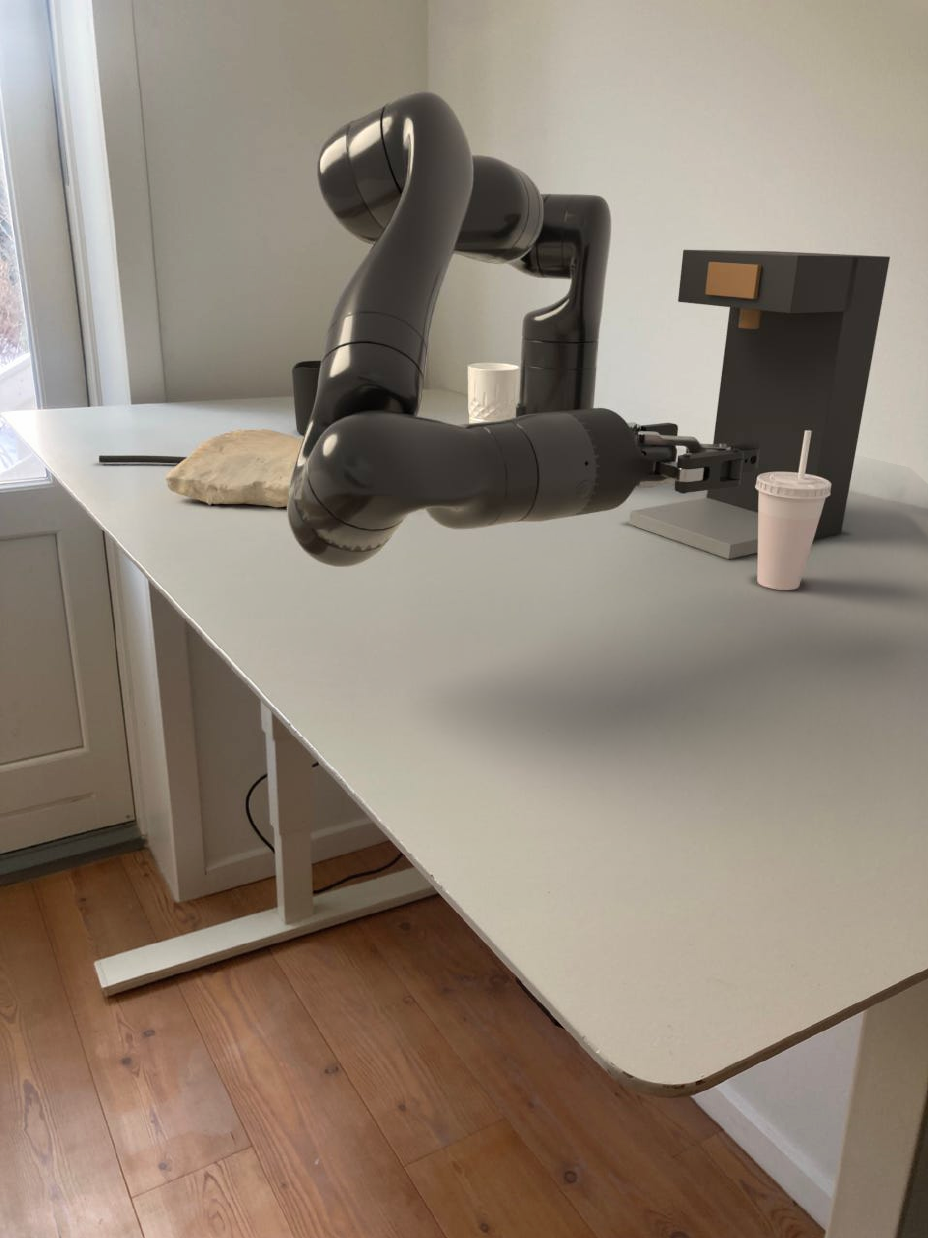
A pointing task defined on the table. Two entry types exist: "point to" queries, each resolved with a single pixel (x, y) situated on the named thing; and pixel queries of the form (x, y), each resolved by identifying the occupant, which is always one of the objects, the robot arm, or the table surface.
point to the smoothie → (788, 522)
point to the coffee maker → (780, 381)
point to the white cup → (492, 391)
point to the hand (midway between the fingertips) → (712, 445)
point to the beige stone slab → (239, 469)
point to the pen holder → (305, 391)
